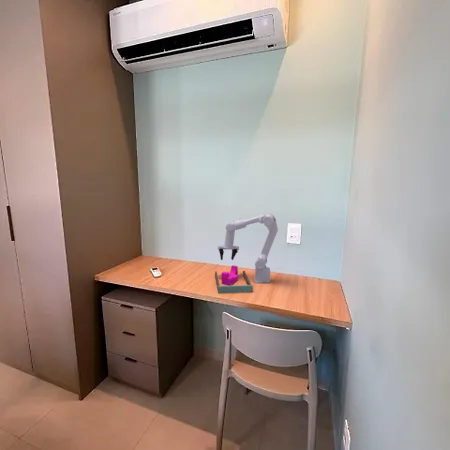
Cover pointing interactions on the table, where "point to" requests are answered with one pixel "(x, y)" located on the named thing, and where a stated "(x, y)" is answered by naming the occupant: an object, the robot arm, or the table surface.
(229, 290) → the end stop
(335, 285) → the table surface
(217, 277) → the lane rails
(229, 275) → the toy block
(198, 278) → the table surface
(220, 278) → the trap squares
